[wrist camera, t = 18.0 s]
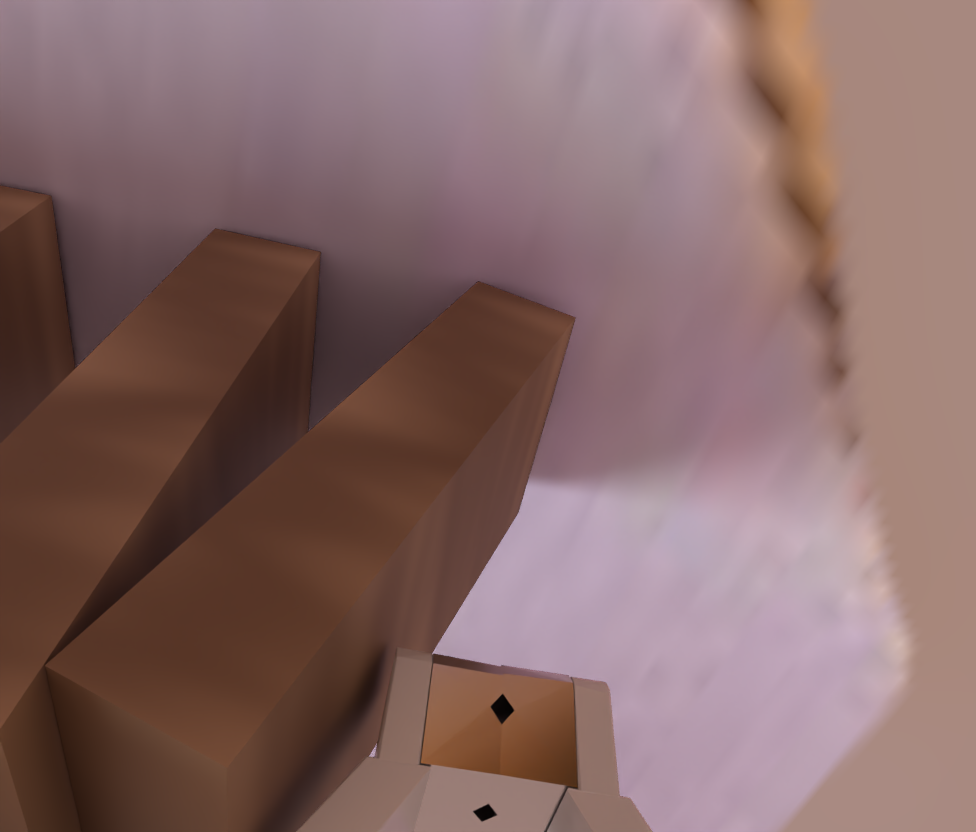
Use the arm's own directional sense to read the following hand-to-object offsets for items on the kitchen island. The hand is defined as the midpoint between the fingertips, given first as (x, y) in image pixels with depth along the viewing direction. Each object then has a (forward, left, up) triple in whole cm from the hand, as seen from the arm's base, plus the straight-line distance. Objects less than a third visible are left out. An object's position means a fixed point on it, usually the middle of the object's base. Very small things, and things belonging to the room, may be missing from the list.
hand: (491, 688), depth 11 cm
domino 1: (0, +5, -7) cm, 9 cm away
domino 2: (0, 0, -7) cm, 7 cm away
